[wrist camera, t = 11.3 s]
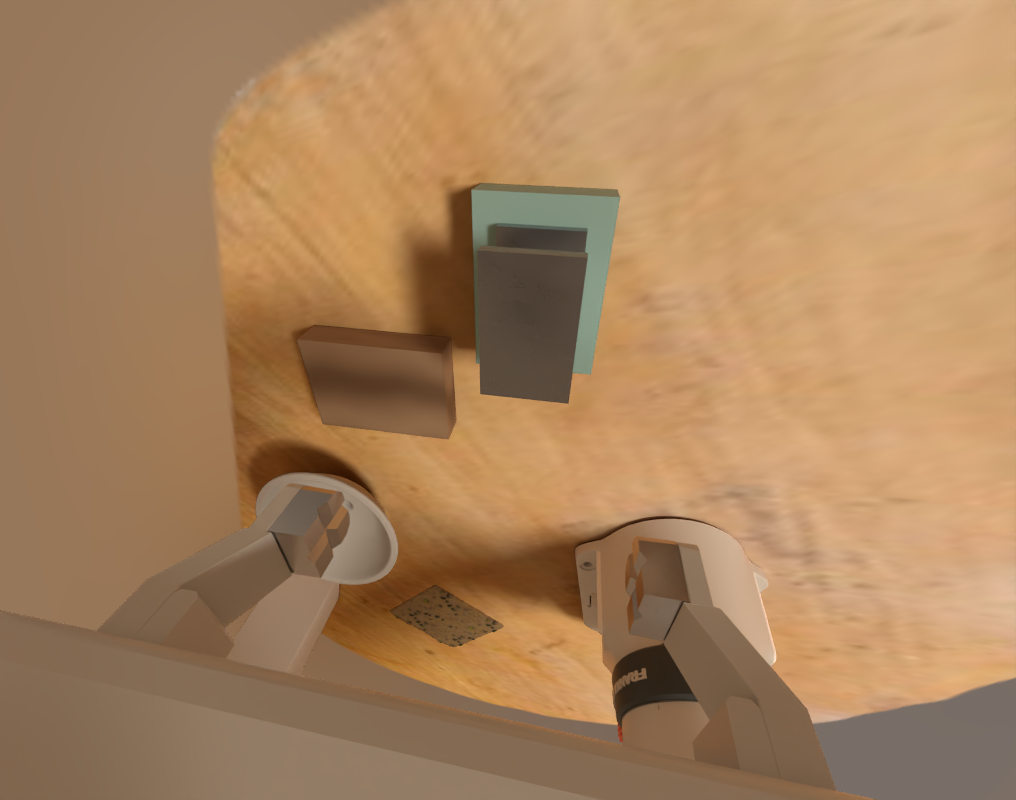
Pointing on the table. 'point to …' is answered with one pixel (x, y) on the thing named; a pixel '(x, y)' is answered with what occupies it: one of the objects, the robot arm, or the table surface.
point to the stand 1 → (381, 380)
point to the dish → (368, 534)
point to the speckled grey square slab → (445, 617)
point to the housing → (530, 310)
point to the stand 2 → (553, 210)
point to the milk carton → (286, 624)
